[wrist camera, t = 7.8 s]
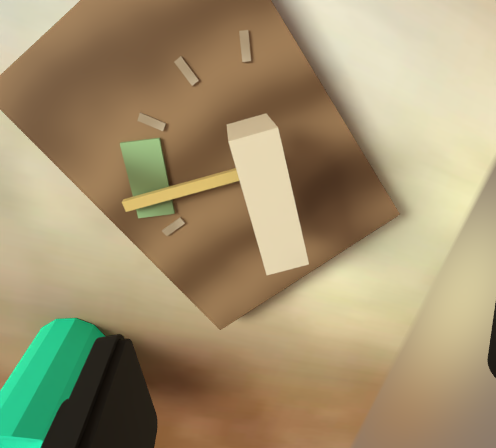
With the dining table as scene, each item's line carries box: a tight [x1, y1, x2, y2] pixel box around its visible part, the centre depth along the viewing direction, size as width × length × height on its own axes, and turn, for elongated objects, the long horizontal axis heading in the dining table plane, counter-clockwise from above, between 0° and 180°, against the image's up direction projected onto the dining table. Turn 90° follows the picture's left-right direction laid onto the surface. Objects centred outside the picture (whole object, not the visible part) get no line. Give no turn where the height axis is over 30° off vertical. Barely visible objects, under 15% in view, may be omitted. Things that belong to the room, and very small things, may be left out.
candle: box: [0, 318, 105, 448], centre depth 27 cm, size 6×6×12 cm
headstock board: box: [0, 0, 400, 330], centre depth 25 cm, size 22×16×3 cm
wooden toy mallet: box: [122, 114, 309, 275], centre depth 21 cm, size 10×7×7 cm
